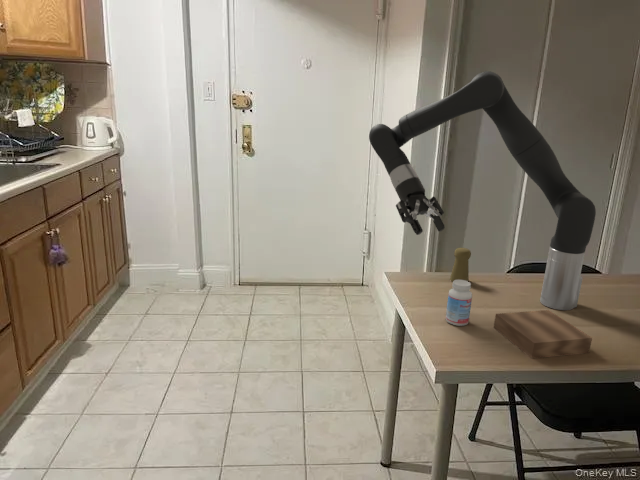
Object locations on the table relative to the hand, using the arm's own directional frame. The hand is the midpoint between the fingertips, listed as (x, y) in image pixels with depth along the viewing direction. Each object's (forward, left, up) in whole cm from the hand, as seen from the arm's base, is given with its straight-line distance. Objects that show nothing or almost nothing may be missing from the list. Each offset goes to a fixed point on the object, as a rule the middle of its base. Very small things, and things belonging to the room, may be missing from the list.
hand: (431, 231), depth 142 cm
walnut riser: (-20, +26, -21) cm, 39 cm away
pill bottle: (-4, +13, -22) cm, 26 cm away
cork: (-20, -15, -22) cm, 33 cm away
